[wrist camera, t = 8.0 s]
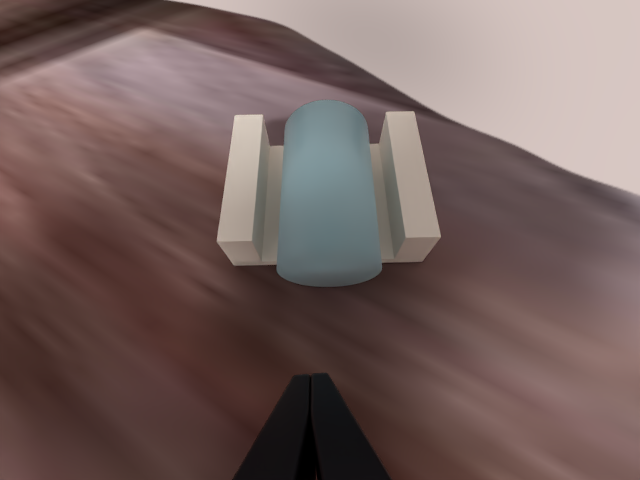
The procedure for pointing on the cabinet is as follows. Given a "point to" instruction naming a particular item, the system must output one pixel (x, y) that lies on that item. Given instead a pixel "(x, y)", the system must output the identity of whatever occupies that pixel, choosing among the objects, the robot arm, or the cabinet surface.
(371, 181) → the bottle
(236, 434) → the cabinet surface
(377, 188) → the u rest
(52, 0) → the cabinet surface
